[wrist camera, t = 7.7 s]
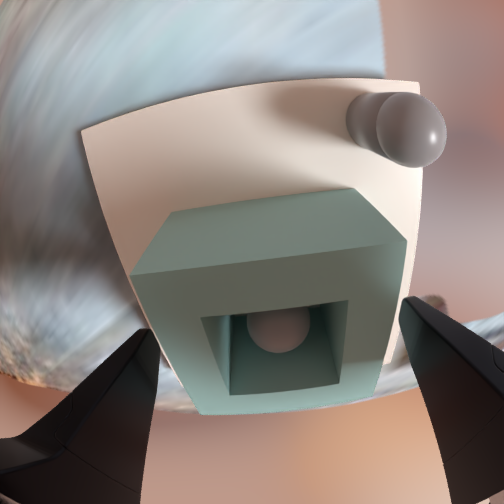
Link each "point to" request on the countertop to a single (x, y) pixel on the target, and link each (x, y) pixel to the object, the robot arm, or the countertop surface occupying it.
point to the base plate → (267, 165)
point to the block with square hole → (274, 298)
